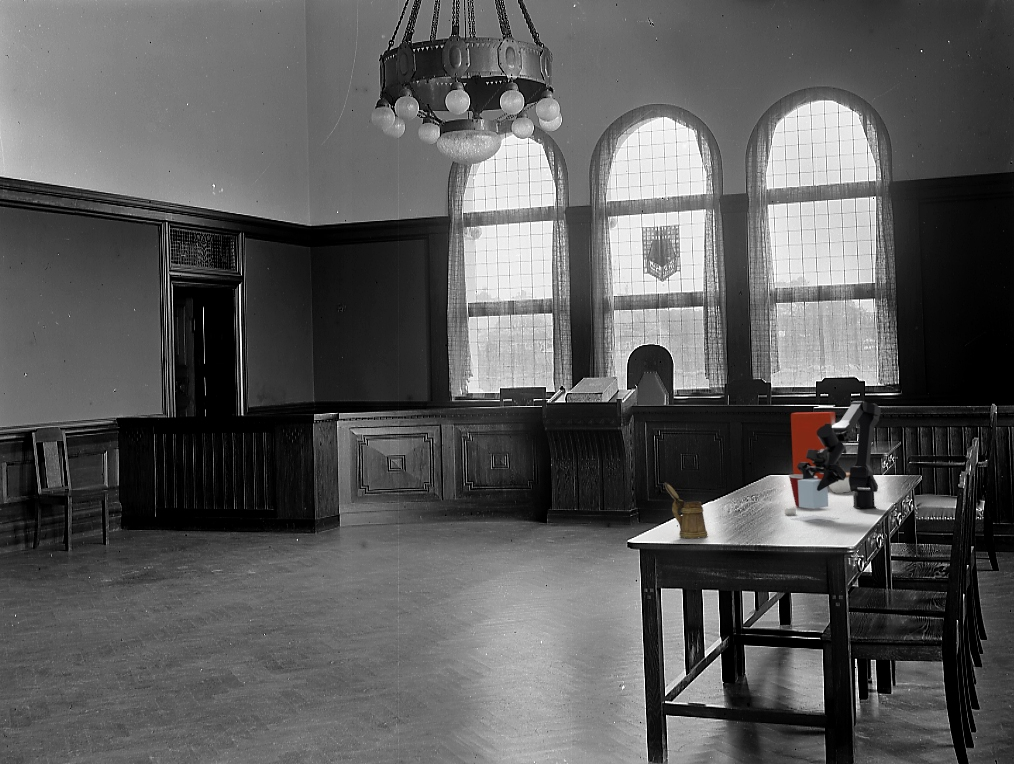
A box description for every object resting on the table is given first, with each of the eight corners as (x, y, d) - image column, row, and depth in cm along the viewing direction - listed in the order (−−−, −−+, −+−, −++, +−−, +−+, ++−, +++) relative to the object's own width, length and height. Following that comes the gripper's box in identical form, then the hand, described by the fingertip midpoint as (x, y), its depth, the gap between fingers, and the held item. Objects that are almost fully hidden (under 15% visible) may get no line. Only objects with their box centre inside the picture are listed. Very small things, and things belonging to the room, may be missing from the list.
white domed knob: (793, 514, 397) (793, 507, 397) (797, 516, 393) (797, 508, 393) (783, 515, 397) (782, 507, 397) (786, 516, 393) (786, 509, 393)
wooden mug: (669, 534, 368) (667, 480, 368) (709, 534, 363) (707, 480, 363) (663, 538, 360) (661, 484, 359) (704, 538, 355) (702, 483, 354)
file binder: (799, 483, 489) (796, 412, 488) (838, 484, 479) (835, 411, 479) (793, 485, 482) (790, 413, 481) (832, 486, 472) (829, 412, 472)
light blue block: (813, 504, 387) (812, 478, 387) (828, 506, 381) (827, 479, 381) (799, 507, 384) (797, 480, 384) (813, 508, 378) (812, 481, 378)
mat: (813, 516, 391) (813, 515, 391) (839, 519, 380) (839, 518, 380) (789, 520, 385) (789, 518, 385) (814, 523, 374) (814, 522, 374)
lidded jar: (826, 493, 450) (825, 471, 450) (829, 490, 460) (828, 468, 459) (853, 493, 446) (852, 471, 445) (855, 490, 456) (854, 468, 455)
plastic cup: (820, 507, 411) (818, 476, 411) (790, 508, 413) (789, 476, 413) (817, 504, 421) (816, 473, 421) (788, 504, 424) (787, 473, 423)
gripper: (799, 439, 392) (778, 473, 387) (838, 441, 376) (817, 476, 371) (816, 459, 396) (795, 493, 391) (856, 462, 380) (834, 497, 375)
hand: (809, 489), depth 382 cm, fingers closed on light blue block, 7 cm apart
